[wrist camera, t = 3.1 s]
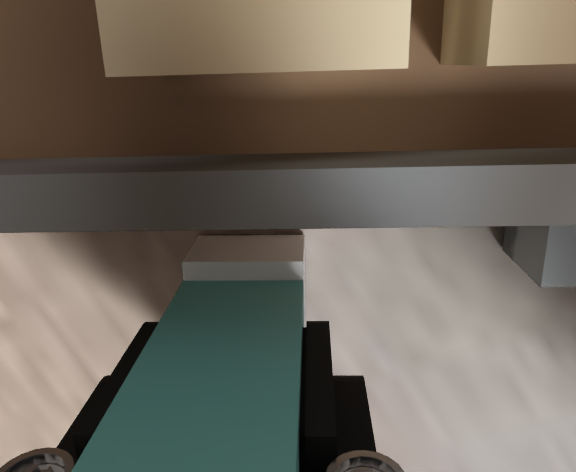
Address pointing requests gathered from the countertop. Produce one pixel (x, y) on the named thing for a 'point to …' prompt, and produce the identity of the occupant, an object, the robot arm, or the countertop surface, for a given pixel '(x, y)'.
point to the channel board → (274, 139)
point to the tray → (544, 253)
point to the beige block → (508, 32)
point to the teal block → (216, 368)
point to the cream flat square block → (251, 36)
